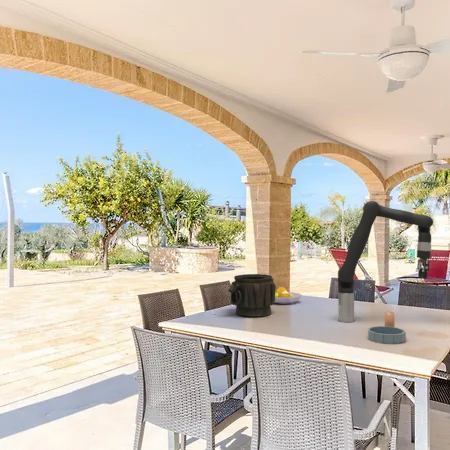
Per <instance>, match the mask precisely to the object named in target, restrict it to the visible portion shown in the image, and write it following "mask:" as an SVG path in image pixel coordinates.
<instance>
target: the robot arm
mask: <svg viewBox="0 0 450 450" xmlns="http://www.w3.org/2000/svg"><path fill="white" fill-rule="evenodd" d="M362 211H363V212H362V215H361V219H360V221H359V223H358V224H357V227H356V228H355V230H354V232H353V234H352V236H351V239H350V240H349V241H350V242H349V243H348V244H349V245H348V248H347V251H346V257H345V258H344V259H345V260H344V261H343V264H342V266H339V268H338V271H337V292H338V295H337V296H338V300H337V301H338V304H337V305H338V308H337V310H338V311H337V312H338V314H337V315H338V322H341V323H342V322H343V323H354V321H355V287H354V283H355V282H354V277H355V273H356V270H357V267H358V266H357V265H358V263H359V261H360V259H361V257H362V255H363V253H364V251H365V248H366V245H367V243H368V241H369V237H370V235H371V231H372V227H373V225H374V223H375V220H376V219H377V217H378V218H381V217H382V218H385V219H388V220H392V221H395V222H400V223H402V224H407V225H415V226H417V232H418V238H417V244H416V245H417V246H416V247H417V249H416V258H417V270H418V277H419V278H422V279H428V272H429V271H430V260H428V259H431V258H432V233H431V227H432V226H433V224H434V220H433V218H432V217H431V216H428V215H426V214H425V215H424V214H421V213H420V214H419V213H414V212H410V211H406V210H402V209H399V208H398V209H396V208H391V207H387V206H384V205H381V204H379V202H377V201H375V200H370V201H366V202H365V204H364V205H363V207H362Z"/></svg>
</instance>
